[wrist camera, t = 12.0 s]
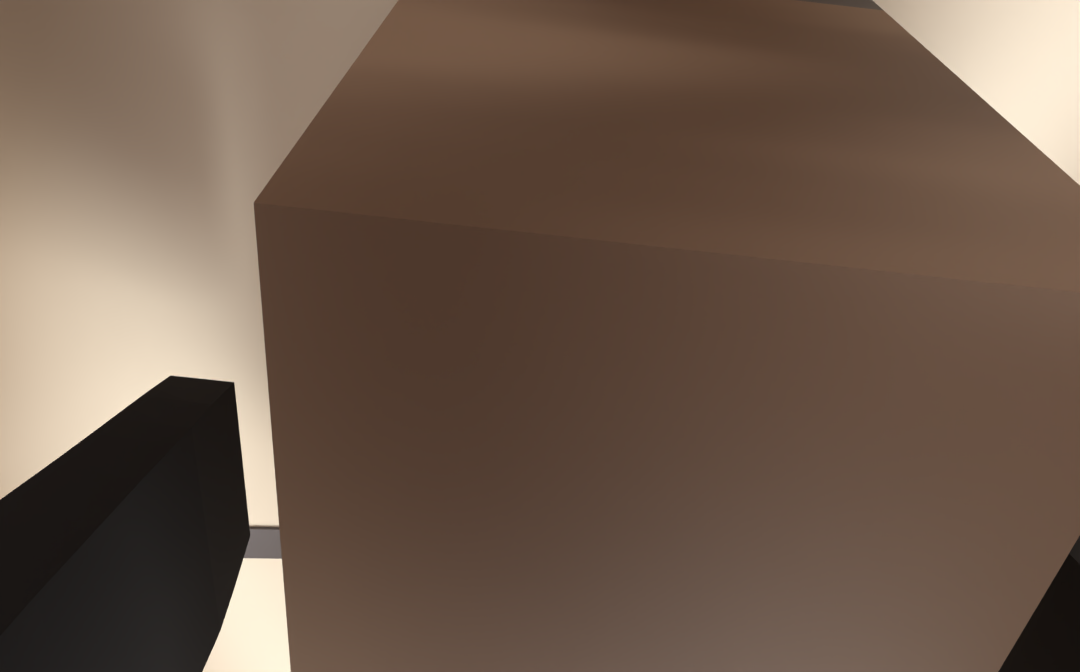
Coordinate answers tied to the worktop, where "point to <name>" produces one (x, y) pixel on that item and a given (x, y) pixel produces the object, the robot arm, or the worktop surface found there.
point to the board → (228, 207)
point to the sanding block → (666, 347)
